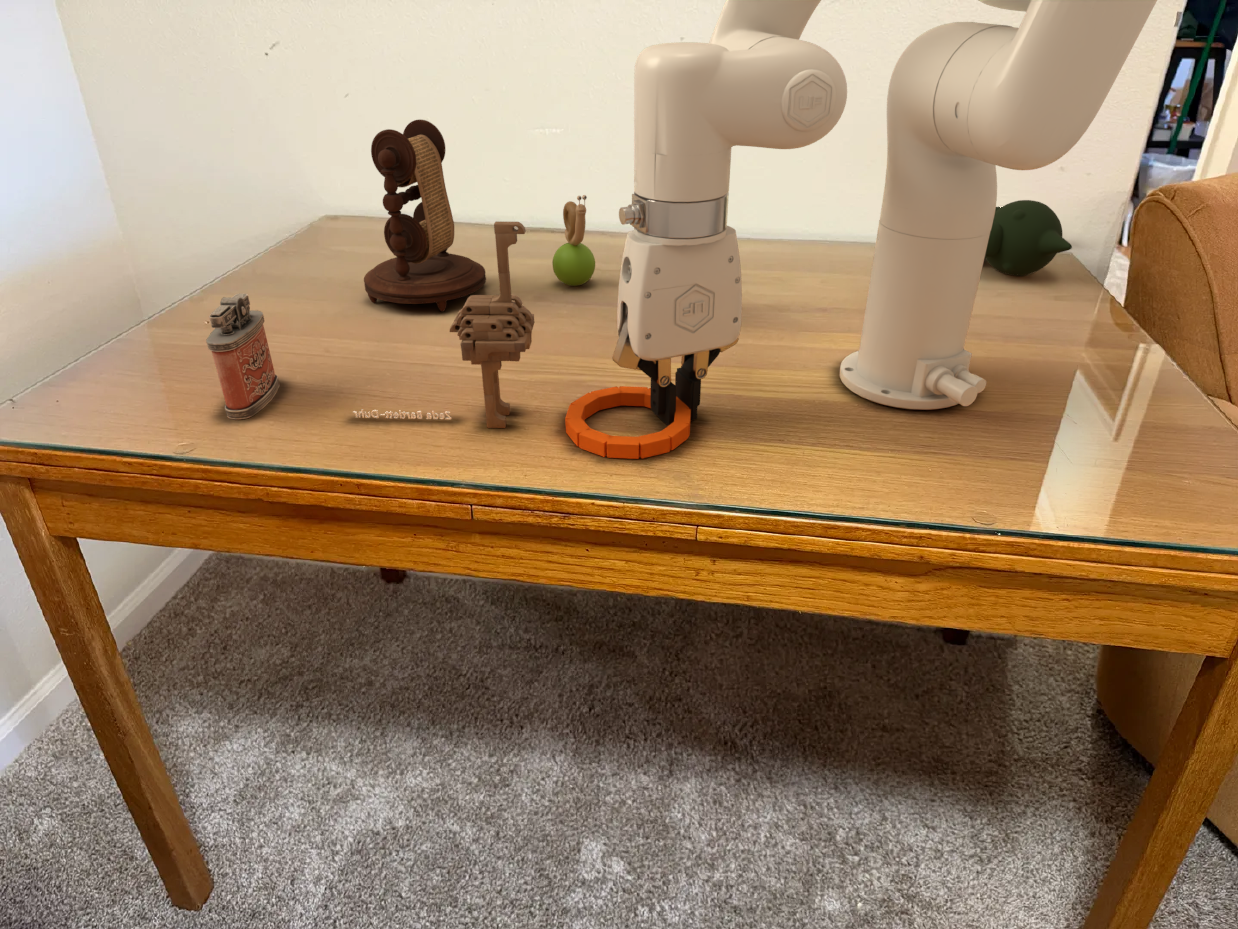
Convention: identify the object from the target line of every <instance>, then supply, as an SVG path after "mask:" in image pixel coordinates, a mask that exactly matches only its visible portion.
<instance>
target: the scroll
mask: <svg viewBox="0 0 1238 929" xmlns="http://www.w3.org/2000/svg"><path fill="white" fill-rule="evenodd" d="M370 152H371V159H372V162H373V165H374V167H375V169H376V170H377V171H378V173H379V174H380V175H381V176H382V177H384V179H383V180H384V181H383V188H384V191H385V192H386V193H385V194H384V195H383V197H382V206H383V208H384V210H386V211H387V215H389V216H390V217H388V219H387V221H386V222H385V224H384V228H383V236H384V241H385V243H386V245H387V248H388V250H390V252H391V254H393V256H394V257H393V258H389V259H387V260H385V261H382V262H380V263H379V264H377V265H375V266H374V267H373V268H371V269H369V271H367V273H365V275H364V278H363V284H364V290H365V292H366V293H367V296H368V299H369V300H370V301H371V303H372V304H373V303H377V302H378V300H379V301H380V300H381V301H383V302H388V303H396V304H408V305H409V304H410V305H411V304H412V305H417V304H433V303H436V306H437V308H438V310H439V311H440V312H445V310H446V308H447V302H448V301H451V300H456V299H460V298H462V297H466V296H468V295H472V294H473V293H475V292H477V291H478V290H480V289H481V288H482V287H483V286H484V285H486V282H487V276H486V268H485V267H484V266H483V265H482V264H480V262H477V261H475V260H473V259H471V258H469V257H467V256H463V255H461V254H455V253H449V252H448V250H449V248H451V247H452V245H453V244H454V240H455V221H454V218H453V213H452V209H451V205H450V204H451V203H450V200H449V197H448V192H447V187H446V182H445V176H444V170H443V169H444V168H443V161H444V159H445V156H446V141H445V139H444V136H443V135H442V133H441V131H440V129H439V128H438V127H437V126H436V125H435V124H433V123H432V122H431V121H428V120H426V119H414V120H412V121H410V122H409V123H408V124H406V126H405V128H404V129H403V132H400V131H398V130H396V129H389V128H387V129H383V130H381V131H379V132H378V133H377V134H376V135H375V136H374V137H373V139H372V142H371V147H370ZM416 183H417V184H416ZM413 184H415V185H413ZM406 187H408V188H407V189H405V191H399V192H397V191H398V189H399V188H406ZM418 200H421V201H420V202H419V203H418V204H417V205H416V206H415V209H414V211H413V215H412V216H411V215H409V214H406V213H402V211H401V210H402V209H403V207H404V206H405V205H407V204H408V203H409V202H413V201H418Z"/></svg>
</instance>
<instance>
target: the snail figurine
mask: <svg viewBox="0 0 1238 929" xmlns="http://www.w3.org/2000/svg"><path fill="white" fill-rule="evenodd" d="M587 198H588V197H587V195H586V194H583V195H582V196H581V195H577V197H576V199H577V201H578V202H579V203H578V204H577V203H575V202H574V201H567V202H566V203H565V204H564V205H563V209H562V217H563V218H562V219H563V223H564V227H565V229H564V237H565V240H566V242H565V243H563V244H562V245H560V246H559V247H558V248H557V249H556V250H555V252H554V254H553V257H552V263H551V264H552V270H553V273H554V275H555V277H557V279H558V280H559V281H560V283H562V284H565V285H567V286H571V287H577V286H581V285H583V284H585V283H587V282H588V281H590V279H591V278H592V276H593V275H594V273H595V270H596V258H595V255H594V253H593V252H592V250H591V249H590V247H588V246H587V245H585V244H584V243H582V242H584V241H583V240H584V237H585V232H586V223H587V222H586V213H587V207H586V200H587ZM581 200H583V202H584V203H581Z"/></svg>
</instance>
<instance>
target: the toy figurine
mask: <svg viewBox="0 0 1238 929" xmlns="http://www.w3.org/2000/svg"><path fill="white" fill-rule="evenodd" d="M1002 206H1003V207H1001V208H1000V207H999V206H996V209H995V215H994V219H993V224H992V228H991V231H990V235H989V240H988V244H987V249H986V253H985V258H984V260H986V262H987V263H988V264H989V265H990V267H992V268H993V269H994V270H996V271H997V272H1000V273H1002V274H1005V275H1009V276H1016V277H1025V276H1028V275H1032V274H1034V273H1036V272H1038V271H1040V270H1042V269H1044V267H1046V266H1047V265H1048V264H1050V263H1051V261H1053V260H1054V258H1055V257H1056V255H1057V254H1060V253H1063V252H1067V251H1070V250H1072V248H1073V245H1072V244H1071V243H1070V242H1069V241H1067V239H1065V238H1064V237H1063V226H1062V222H1061V220H1060V219H1059V217H1058V215H1057V214H1056V212H1055V211H1054V210H1053V209H1052V208H1051V207H1050V206H1048V205H1047V204H1046V203H1044V202H1041V201H1037V200H1031V199H1020V200H1015V201H1012V202H1009V203H1006V204H1004V205H1002Z"/></svg>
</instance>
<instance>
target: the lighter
mask: <svg viewBox="0 0 1238 929" xmlns="http://www.w3.org/2000/svg"><path fill="white" fill-rule="evenodd" d="M219 304H220V305H219V306H217V307H216V308H215V309H214V310H213V311H212V312H211V313H210V314H209V316H208V318H209V321H210V322H209V323H210V325H211V328H212V329H213V330H212V331H211V332H210V334H208V337H207V338H206V340H205V341H206V342H205V343H206V346H207V349H208V350H209V351H210V352H211V355H212V358H213V361H214V365H215V369H216V373H217V376H218V380H219V383H220V388H221V391H222V394H223V399H224V402H225V405H224V411H225V414H226V417H227V418H228V419H231V420H244V419H248V418H251V417H253V416H255V415H256V414H258V413H259V412H261V411H262V410H263V409H264V408H265V407H266V406H267V405H268V404H269V403H270V402H271V401H272V400H273V398H274V397H275V396H276V394H277V393H278V390H279V388H280V386H281V385H280V380H279V376H278V375H277V374H276V372H275V368H274V364H273V359H272V355H271V352H270V347H269V342H268V339H267V335H266V329H265V326H264V324H265V316H264V313H263V312H262V311H261V310H256V309H255V310H253V309H252V310H250V309H251V306H250V305H251V301H250V298H249V294H248V293H245V292H244V293H243V292H241V293H235V294H234V295H233V296H232V297H227V296H226V297H225V296H224V297H222V298H221V299H220V303H219Z"/></svg>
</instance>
